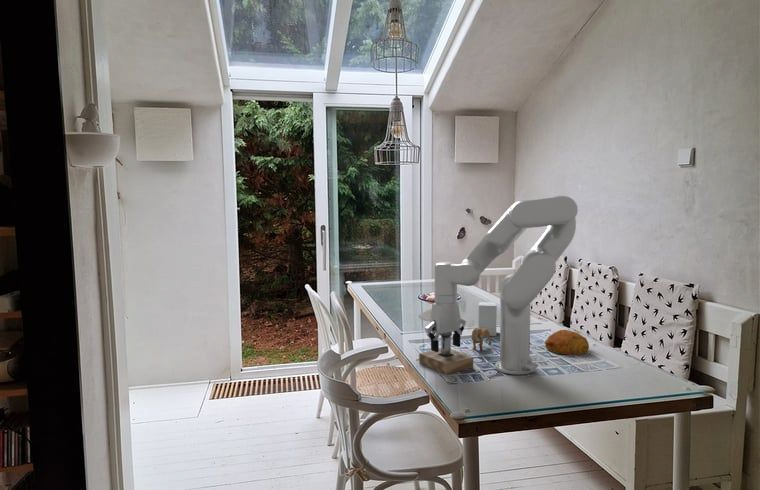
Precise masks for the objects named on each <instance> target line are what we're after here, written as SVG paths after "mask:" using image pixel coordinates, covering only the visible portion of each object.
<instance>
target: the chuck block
mask: <svg viewBox="0 0 760 490" xmlns="http://www.w3.org/2000/svg"><path fill="white" fill-rule="evenodd" d="M418 361H419V363H418V364H421V365H422V366H425V367H428V368H430V369H432V370H434V371H437V372H439V373H441V374H444V375H446V374H447V375H450V374H454V373H458V372H462V371H464V370H468V368H469V369H473V368H474V356H471V355H470V354H469V355H468V354H466V353H463V352H460V351H457V350H455V349H451V356H450V357H446V358H445V357H442V356H441V347H439V351H438V352H435V351H432V350H431V349H430V350H428V351H423V352H419V353H418Z"/></svg>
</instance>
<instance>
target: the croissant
mask: <svg viewBox="0 0 760 490" xmlns="http://www.w3.org/2000/svg"><path fill="white" fill-rule="evenodd" d="M544 346H545V348H546V349H547V350H548V351H551V352H553V353H556V354H562V355H566V356H574V355H576V356H577V355H582V354H586V353H588V352H589V349H590V345H589V342H588V339H587V338H586V337H584V336H583V335H581V334H580V333H578V332H576V331H572V330H567V329H560V330H556V331H555V332H554V333H552V334H550V335H549V336H548V337H547V339H546V340H545V341H544Z"/></svg>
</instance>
